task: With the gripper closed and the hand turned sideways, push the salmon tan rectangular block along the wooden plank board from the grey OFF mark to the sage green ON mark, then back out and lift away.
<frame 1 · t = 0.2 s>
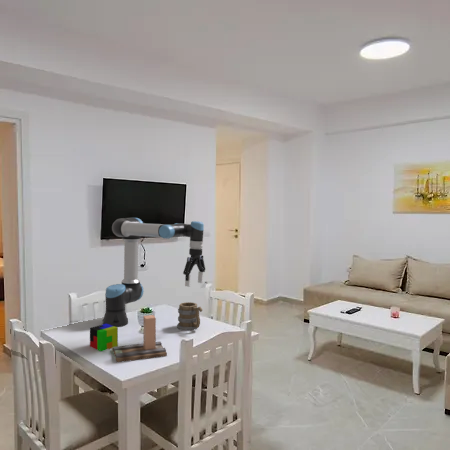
hand: (193, 284, 239), 28 cm above the table, tool pointing down, fingers open, 13 cm apart
puzzle toy: (103, 346, 214), on the table
salmon tan rectangular block: (149, 332, 207), point 10 cm above the table, slide at 0.0 cm
tankard: (191, 329, 246), on the table
wooden plank board: (139, 353, 206), on the table
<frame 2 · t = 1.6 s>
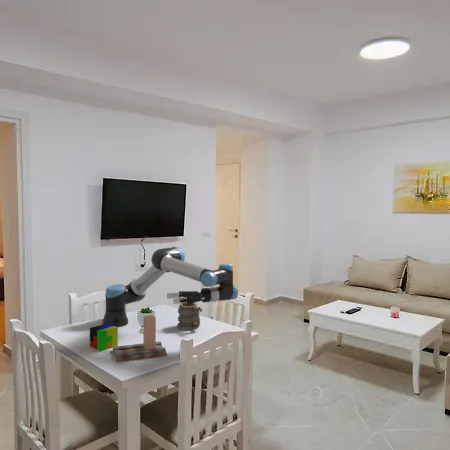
hand: (170, 298, 211), 26 cm above the table, tool horizontal, fingers open, 13 cm apart
nothing on the table moved.
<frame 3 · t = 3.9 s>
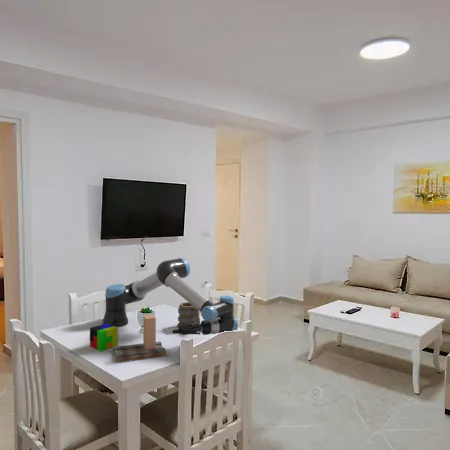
hand: (166, 331, 210), 9 cm above the table, tool horizontal, fingers closed
nothing on the table moved.
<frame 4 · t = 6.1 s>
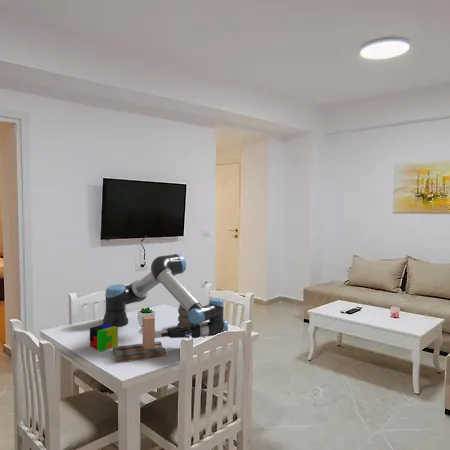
hand: (154, 334, 207), 9 cm above the table, tool horizontal, fingers closed
salmon tan rectangular block: (148, 332, 207), point 10 cm above the table, slide at 0.5 cm, touching gripper
everything else where it was.
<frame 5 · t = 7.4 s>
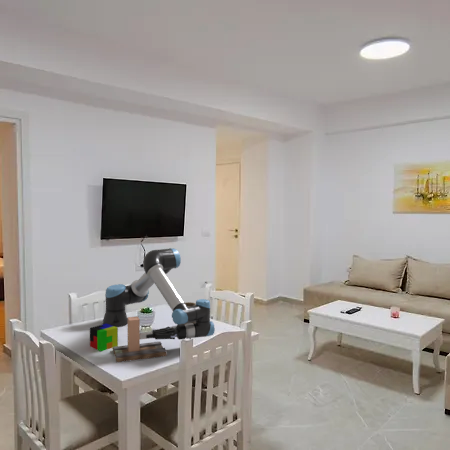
hand: (139, 336, 204), 9 cm above the table, tool horizontal, fingers closed
salmon tan rectangular block: (133, 334, 204), point 10 cm above the table, slide at 8.0 cm, touching gripper
everything else where it was.
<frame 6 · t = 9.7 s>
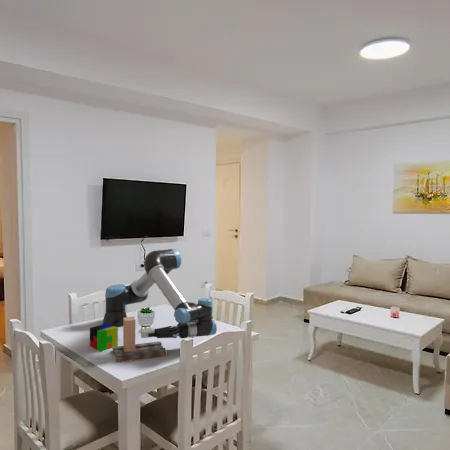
hand: (141, 335, 205), 9 cm above the table, tool horizontal, fingers closed
salmon tan rectangular block: (129, 334, 203), point 10 cm above the table, slide at 10.0 cm
everything else where it was.
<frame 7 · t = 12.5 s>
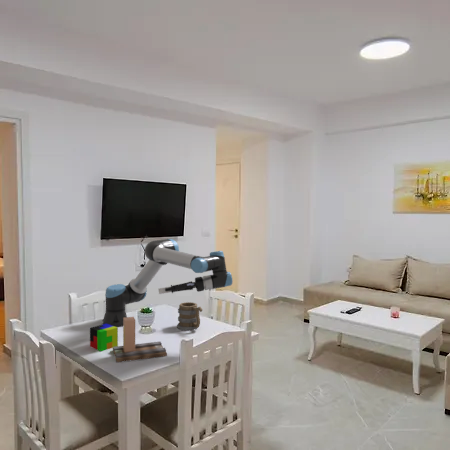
hand: (158, 291, 214), 29 cm above the table, tool horizontal, fingers closed
nothing on the table moved.
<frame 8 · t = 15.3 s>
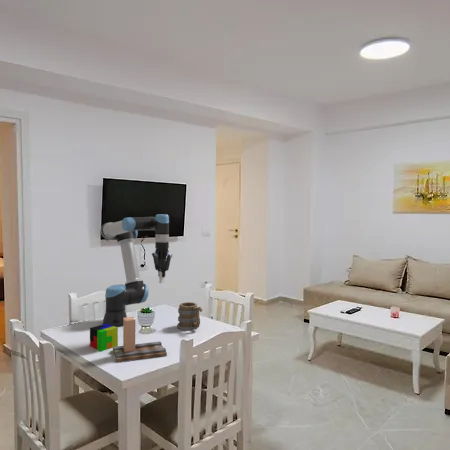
hand: (161, 282, 234), 29 cm above the table, tool pointing down, fingers closed
nothing on the table moved.
at the end: salmon tan rectangular block slide at 10.0 cm; puzzle toy moved 0.3 cm from its start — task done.
